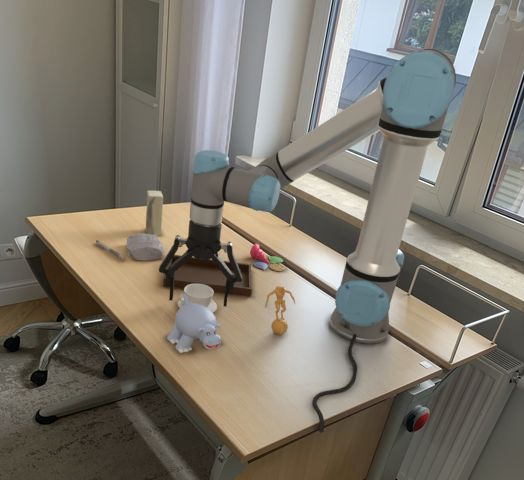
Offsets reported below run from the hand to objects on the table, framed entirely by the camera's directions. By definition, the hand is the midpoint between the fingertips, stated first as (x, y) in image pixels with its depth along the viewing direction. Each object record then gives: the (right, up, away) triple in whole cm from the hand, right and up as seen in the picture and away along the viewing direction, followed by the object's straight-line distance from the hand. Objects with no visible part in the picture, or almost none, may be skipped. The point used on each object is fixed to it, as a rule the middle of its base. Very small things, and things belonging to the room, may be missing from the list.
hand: (198, 301), depth 138 cm
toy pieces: (+18, +14, +29) cm, 37 cm away
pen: (-28, +16, +19) cm, 37 cm away
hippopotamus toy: (+1, -11, -13) cm, 17 cm away
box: (-18, +25, +35) cm, 47 cm away
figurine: (+20, -8, -3) cm, 21 cm away
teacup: (0, -1, +1) cm, 2 cm away
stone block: (-19, +16, +23) cm, 34 cm away
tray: (+1, +8, +15) cm, 17 cm away
